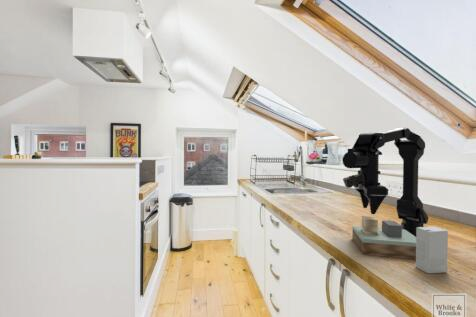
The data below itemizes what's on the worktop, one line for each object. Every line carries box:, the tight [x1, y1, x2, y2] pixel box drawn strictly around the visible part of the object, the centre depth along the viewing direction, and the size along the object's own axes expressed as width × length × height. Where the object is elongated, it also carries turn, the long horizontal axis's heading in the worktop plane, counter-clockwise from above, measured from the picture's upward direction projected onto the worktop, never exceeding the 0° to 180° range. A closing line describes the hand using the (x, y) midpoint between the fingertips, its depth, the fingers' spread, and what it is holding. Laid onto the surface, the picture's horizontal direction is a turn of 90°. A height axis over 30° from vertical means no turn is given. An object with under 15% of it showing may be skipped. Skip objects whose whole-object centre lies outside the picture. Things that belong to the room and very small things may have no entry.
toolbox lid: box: [351, 220, 416, 247], centre depth 81 cm, size 18×14×5 cm
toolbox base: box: [351, 229, 416, 260], centre depth 81 cm, size 18×14×4 cm
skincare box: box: [415, 226, 449, 274], centre depth 66 cm, size 6×4×12 cm
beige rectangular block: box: [361, 215, 379, 235], centre depth 82 cm, size 4×4×8 cm
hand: (368, 210), depth 83 cm, fingers open, 9 cm apart
